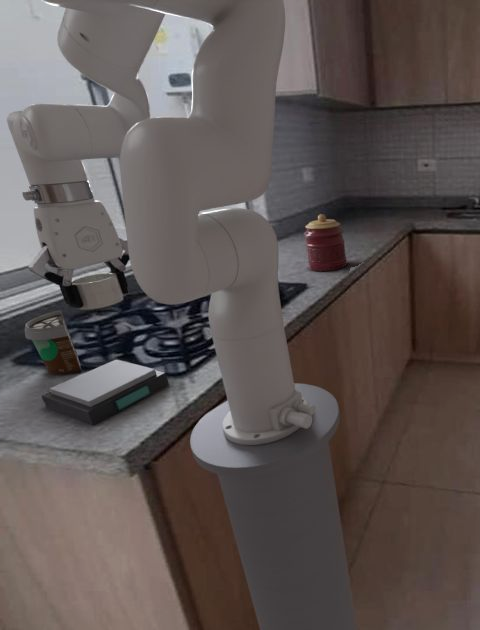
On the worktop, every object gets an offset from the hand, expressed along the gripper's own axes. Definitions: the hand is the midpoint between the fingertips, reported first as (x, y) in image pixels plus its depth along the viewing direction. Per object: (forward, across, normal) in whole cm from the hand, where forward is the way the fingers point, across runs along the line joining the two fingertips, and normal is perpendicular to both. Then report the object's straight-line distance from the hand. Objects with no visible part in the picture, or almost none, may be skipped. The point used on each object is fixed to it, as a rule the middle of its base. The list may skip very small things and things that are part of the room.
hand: (99, 298), depth 77 cm
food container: (+15, -3, +16) cm, 22 cm away
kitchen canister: (+15, +76, +11) cm, 79 cm away
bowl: (+1, 0, 0) cm, 1 cm away
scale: (+15, -6, -5) cm, 17 cm away
